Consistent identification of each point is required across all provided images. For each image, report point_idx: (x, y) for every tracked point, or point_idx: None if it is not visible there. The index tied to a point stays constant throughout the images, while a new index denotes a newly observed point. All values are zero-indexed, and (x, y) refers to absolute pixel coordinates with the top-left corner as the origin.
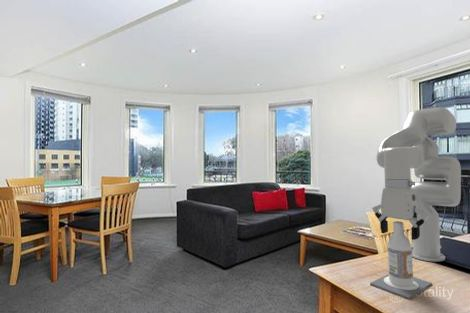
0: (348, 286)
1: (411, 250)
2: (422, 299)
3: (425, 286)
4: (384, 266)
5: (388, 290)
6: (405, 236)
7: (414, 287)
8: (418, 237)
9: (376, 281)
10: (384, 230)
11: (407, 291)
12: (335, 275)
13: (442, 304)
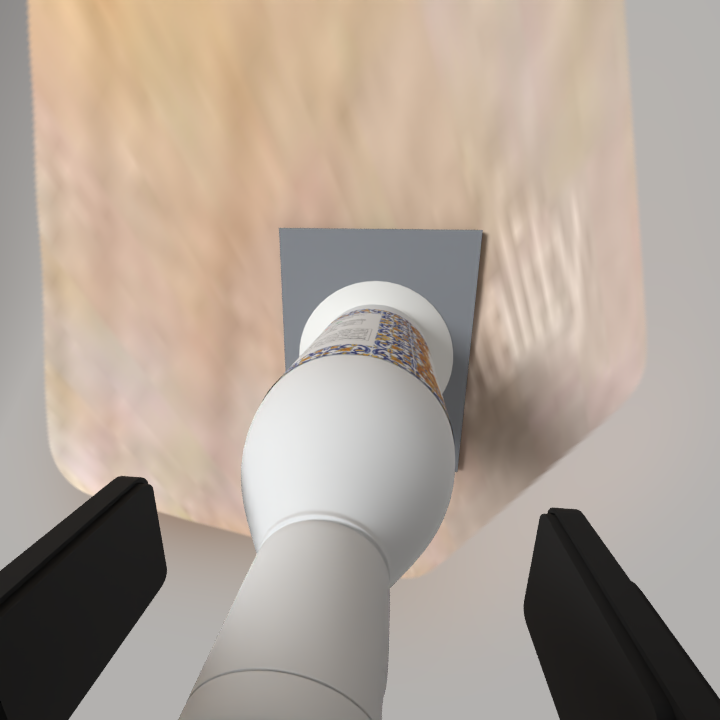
0: None
1: (453, 436)
2: (494, 428)
3: (473, 309)
4: (196, 172)
5: None
6: (412, 535)
7: (440, 364)
8: (580, 514)
9: None
10: (141, 585)
11: None
12: (151, 476)
13: (567, 414)
